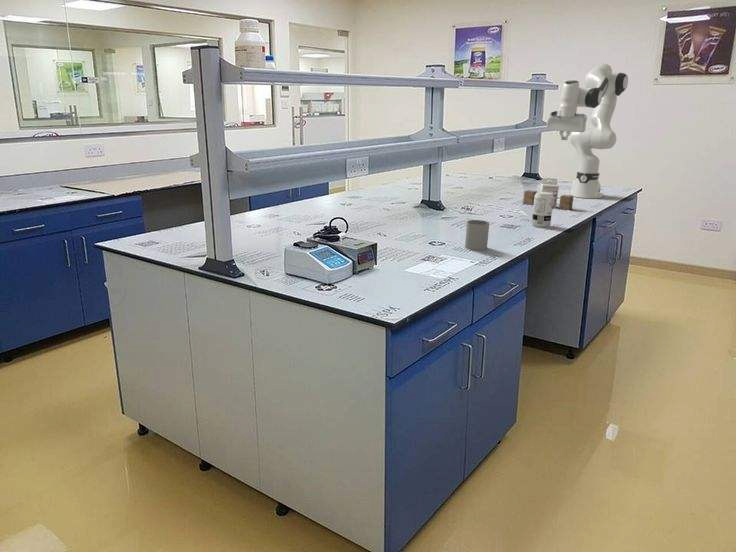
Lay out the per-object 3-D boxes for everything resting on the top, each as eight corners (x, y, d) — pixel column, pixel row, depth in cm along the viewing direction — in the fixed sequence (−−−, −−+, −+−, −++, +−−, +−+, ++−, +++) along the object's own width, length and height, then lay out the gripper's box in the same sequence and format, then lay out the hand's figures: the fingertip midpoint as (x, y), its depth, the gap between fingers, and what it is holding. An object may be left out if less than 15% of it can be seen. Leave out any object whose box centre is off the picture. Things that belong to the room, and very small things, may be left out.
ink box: (539, 207, 303) (543, 179, 298) (538, 205, 308) (541, 177, 303) (556, 207, 302) (559, 179, 298) (554, 206, 307) (557, 178, 302)
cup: (462, 249, 217) (464, 223, 213) (467, 244, 224) (469, 219, 221) (485, 251, 214) (487, 225, 211) (488, 246, 221) (491, 221, 218)
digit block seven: (527, 202, 314) (528, 189, 312) (535, 204, 311) (537, 191, 309) (523, 203, 310) (524, 190, 308) (531, 205, 307) (533, 192, 305)
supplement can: (529, 223, 263) (533, 191, 258) (547, 224, 263) (551, 191, 258) (533, 227, 255) (537, 194, 251) (552, 228, 255) (556, 194, 251)
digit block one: (562, 208, 302) (564, 194, 300) (571, 209, 299) (573, 195, 297) (558, 209, 298) (560, 195, 296) (568, 210, 296) (570, 197, 293)
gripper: (589, 113, 295) (585, 141, 299) (551, 112, 307) (548, 138, 311) (585, 114, 290) (581, 141, 295) (546, 112, 303) (543, 139, 307)
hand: (564, 140), depth 303 cm, fingers closed
